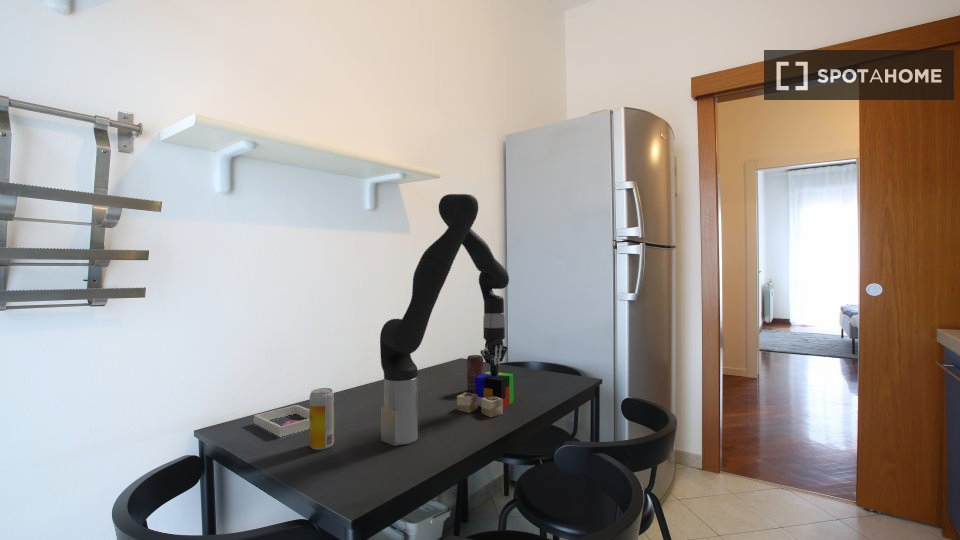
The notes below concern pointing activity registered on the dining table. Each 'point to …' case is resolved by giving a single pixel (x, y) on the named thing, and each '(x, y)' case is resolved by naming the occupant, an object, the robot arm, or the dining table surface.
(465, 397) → the marked block
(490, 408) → the marked block
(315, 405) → the beer can
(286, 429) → the dish rim
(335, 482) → the dining table surface
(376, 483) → the dining table surface
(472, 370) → the can
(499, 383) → the puzzle toy
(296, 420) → the donut
